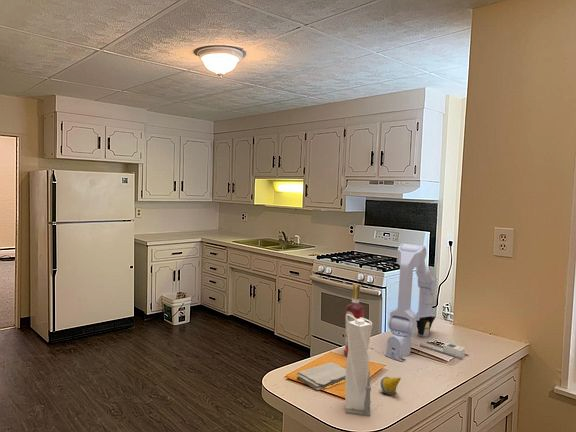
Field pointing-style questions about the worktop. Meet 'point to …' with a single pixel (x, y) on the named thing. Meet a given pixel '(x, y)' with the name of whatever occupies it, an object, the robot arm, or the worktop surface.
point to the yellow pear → (389, 385)
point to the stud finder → (454, 350)
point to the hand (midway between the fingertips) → (423, 333)
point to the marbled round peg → (426, 330)
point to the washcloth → (322, 375)
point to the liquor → (353, 311)
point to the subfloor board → (441, 351)
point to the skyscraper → (358, 367)
